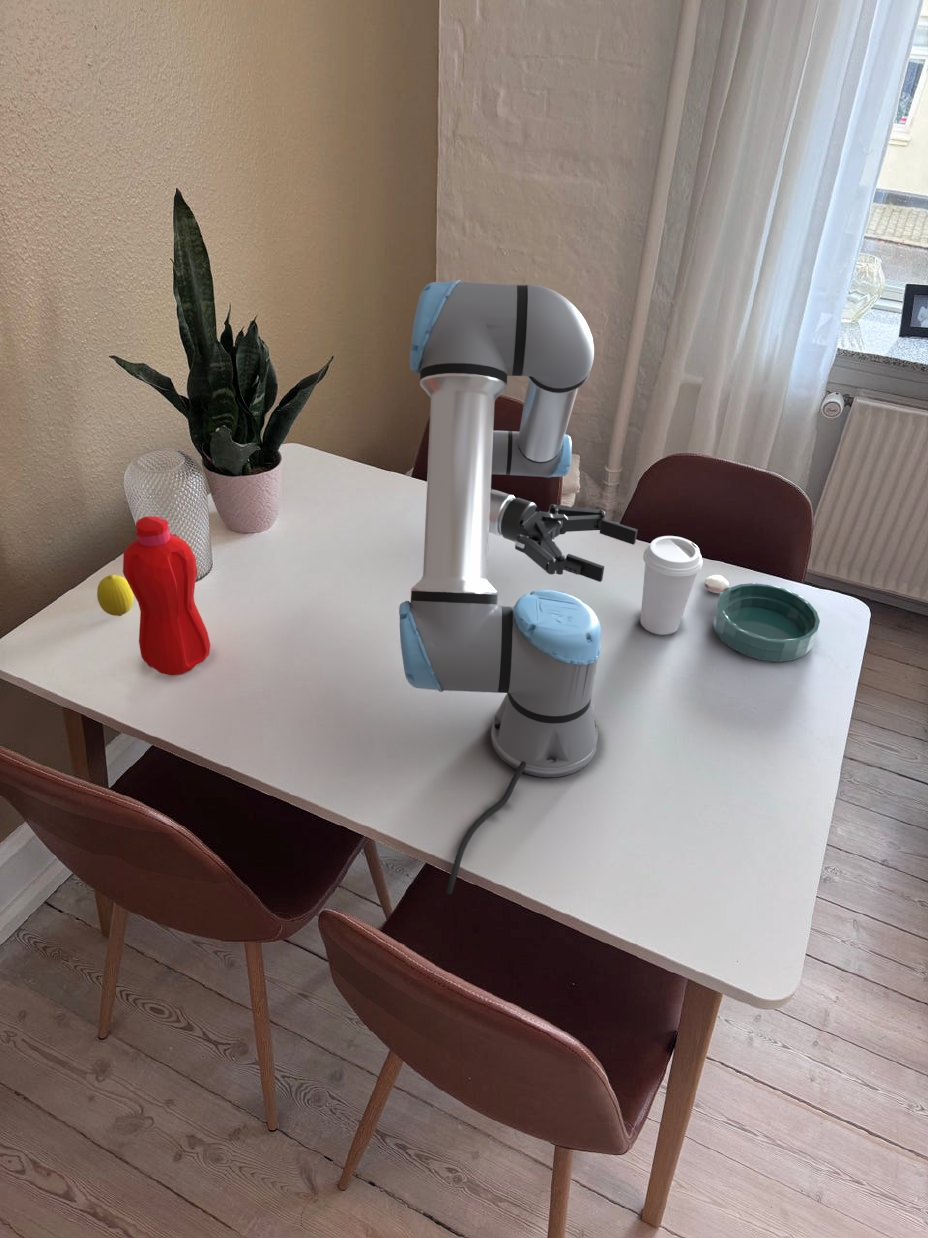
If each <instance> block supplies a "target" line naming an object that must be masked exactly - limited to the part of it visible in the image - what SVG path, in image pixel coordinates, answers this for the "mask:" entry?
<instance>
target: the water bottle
mask: <svg viewBox="0 0 928 1238" xmlns="http://www.w3.org/2000/svg"><path fill="white" fill-rule="evenodd" d="M135 529H136V530H135V531H136V533H135V534H134V536H136V537H137V539H135V540H133V541H132V542H131V543H129V544H128V545H127V547H126V548H125V550H124V551H123V556H122V557H123V558H122V559H123V560H122V573H123V577H124V578H125V579H126V580H127V582H128V584H129V586H130V588H131V590H132V592H133V595H134V598H135V600H136V601H137V604H138V607H139V612H140V615H139V631H138V645H139V646H138V647H139V652H140V656H141V658H142V660H143V661H144V662H145V664H146V665H147V666H148V667H149V668H151V669H154V670H156V671H157V672H158V673H159V674H162V675H166V676H170V677H174V676H179V675H184V674H186V673H188V672H190V671H192V670H193V669H194V668H195V667H196V666H198V665H199V664H201V663H204V661H205V660H206V659H207V658H208V657H209V656H210V651H211V642H210V638H209V633H208V631H207V627H206V625H205V622H204V621H203V619H202V616H201V614H200V612H199V609H198V607H197V604H196V603H195V587H196V579H197V576H198V568H197V558H196V556H195V554H194V552H193V550H192V548H191V546H190V545H189V544H188V543H187V541H186V540H184V539H182V538H181V537H180V536H179V535H177V534H176V533H172V532H171V530H170V527H169V522H168V521H167V519H165V518H163V517H160V516H154V515H153V516H152V515H148V516H147V515H146V516H143V517H142V518H139V519H138V520H137V521H136V522H135Z"/></svg>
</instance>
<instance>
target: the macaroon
mask: <svg viewBox="0 0 928 1238" xmlns="http://www.w3.org/2000/svg"><path fill="white" fill-rule="evenodd" d="M703 583H704V584H703V585H704V588H705V589H706V590H708V591H709V592H710V593H714V594H722V593H723V592H725V591H726V590H727V589H728V588H730V584H729V581H728V580H727V579H726V578H724V576H723V575H720V574H713V575H710V576H708V577H706V578H705V580H704V582H703Z"/></svg>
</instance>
